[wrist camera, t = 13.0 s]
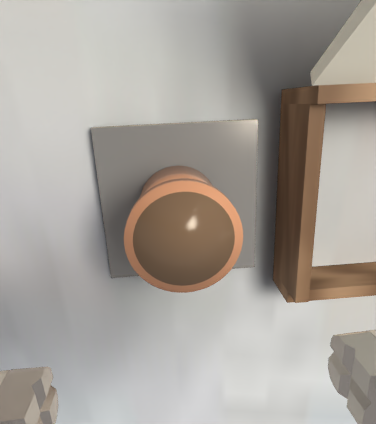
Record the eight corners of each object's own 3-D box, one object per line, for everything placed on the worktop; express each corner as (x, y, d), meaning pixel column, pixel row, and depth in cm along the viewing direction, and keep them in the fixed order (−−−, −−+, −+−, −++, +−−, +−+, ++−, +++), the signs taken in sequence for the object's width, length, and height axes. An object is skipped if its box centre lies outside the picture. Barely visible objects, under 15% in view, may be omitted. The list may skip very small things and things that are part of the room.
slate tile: (112, 271, 28) (111, 277, 27) (93, 127, 24) (90, 127, 23) (251, 261, 28) (254, 266, 27) (254, 119, 24) (258, 119, 23)
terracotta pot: (138, 246, 26) (130, 297, 19) (129, 162, 24) (117, 186, 17) (222, 241, 26) (242, 288, 20) (221, 157, 24) (244, 179, 17)
